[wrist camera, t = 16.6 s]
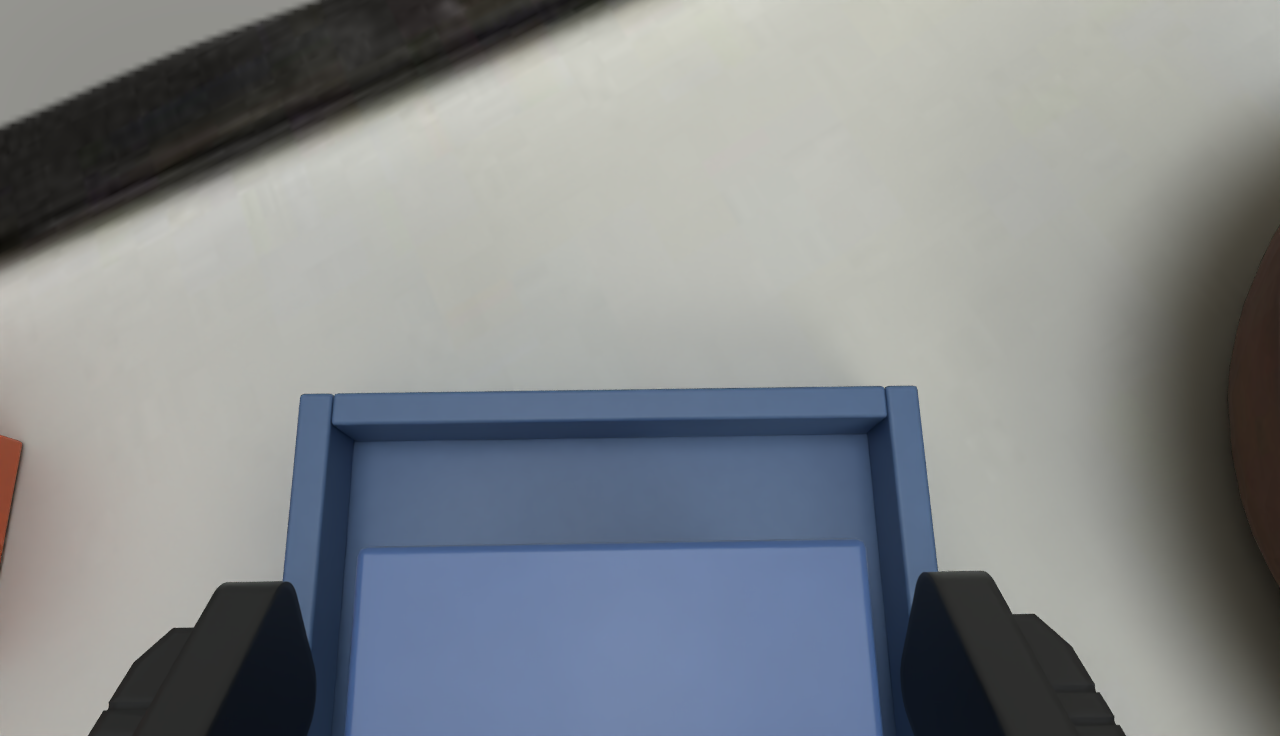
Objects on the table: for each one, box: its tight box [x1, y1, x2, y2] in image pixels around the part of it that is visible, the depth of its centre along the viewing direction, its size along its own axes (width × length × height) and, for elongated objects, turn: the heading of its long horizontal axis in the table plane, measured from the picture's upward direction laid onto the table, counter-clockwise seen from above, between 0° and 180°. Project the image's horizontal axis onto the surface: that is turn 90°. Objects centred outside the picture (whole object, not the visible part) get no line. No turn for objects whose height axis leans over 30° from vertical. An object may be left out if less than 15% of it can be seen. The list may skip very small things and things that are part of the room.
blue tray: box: [283, 386, 938, 736], centre depth 15 cm, size 11×11×2 cm
